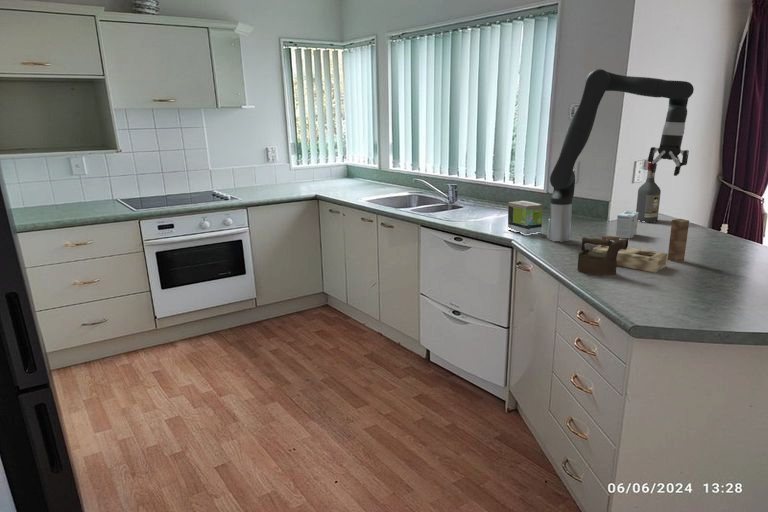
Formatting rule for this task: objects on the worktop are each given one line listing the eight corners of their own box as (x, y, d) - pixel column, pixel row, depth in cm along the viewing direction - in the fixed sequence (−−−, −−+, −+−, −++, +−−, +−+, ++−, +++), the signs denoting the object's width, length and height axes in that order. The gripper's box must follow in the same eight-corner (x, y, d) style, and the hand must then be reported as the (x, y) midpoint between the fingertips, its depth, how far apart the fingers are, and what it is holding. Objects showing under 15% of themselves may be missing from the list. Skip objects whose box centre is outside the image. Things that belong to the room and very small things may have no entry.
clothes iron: (620, 278, 176) (623, 242, 173) (575, 270, 187) (577, 236, 183) (627, 272, 182) (630, 237, 178) (583, 265, 192) (585, 231, 189)
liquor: (632, 220, 262) (637, 163, 254) (645, 218, 265) (651, 161, 257) (646, 223, 254) (652, 164, 245) (660, 221, 257) (666, 162, 248)
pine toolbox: (591, 260, 198) (593, 236, 195) (603, 255, 204) (604, 232, 201) (656, 272, 180) (658, 246, 178) (666, 266, 187) (669, 241, 184)
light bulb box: (621, 232, 238) (623, 210, 235) (636, 234, 234) (639, 212, 231) (615, 237, 230) (617, 214, 227) (630, 239, 226) (632, 216, 223)
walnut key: (667, 259, 194) (672, 219, 190) (674, 258, 196) (679, 218, 191) (676, 262, 191) (681, 221, 186) (684, 260, 192) (689, 220, 188)
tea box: (542, 233, 243) (543, 204, 239) (525, 236, 239) (526, 206, 235) (523, 228, 256) (524, 199, 252) (506, 230, 253) (507, 201, 249)
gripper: (650, 132, 203) (642, 172, 208) (689, 135, 193) (679, 177, 198) (657, 132, 208) (649, 171, 212) (695, 135, 198) (686, 176, 203)
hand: (664, 174), depth 205 cm, fingers open, 8 cm apart
